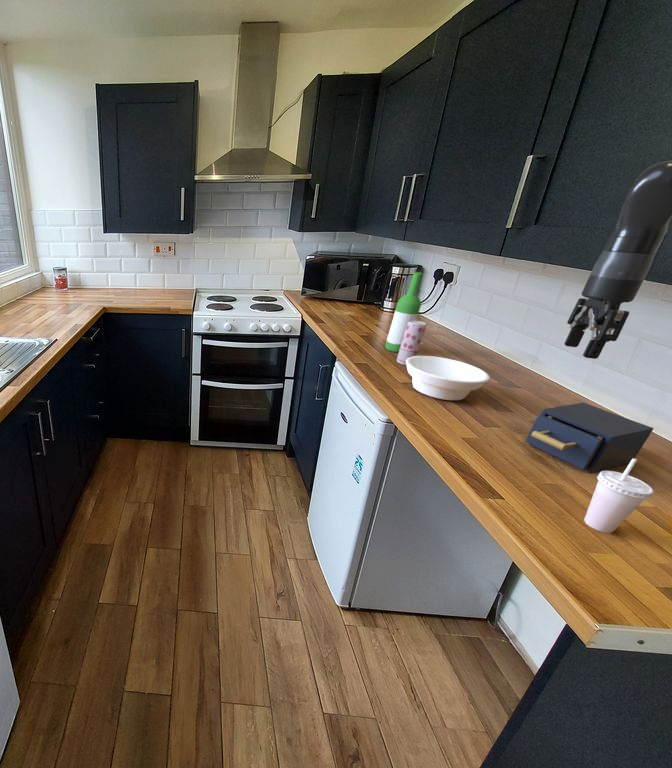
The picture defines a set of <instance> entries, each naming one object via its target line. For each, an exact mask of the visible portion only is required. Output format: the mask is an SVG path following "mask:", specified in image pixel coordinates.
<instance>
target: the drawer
mask: <svg viewBox="0 0 672 768" xmlns="http://www.w3.org/2000/svg"><path fill="white" fill-rule="evenodd" d="M532 424H533V425H532V427H531V428H530V431H529V433H528V435H527V437H526V439H525V441H524V442H525V443H527V444H528V445H531V446H533V447H536V448H537V449H540V450H542V451H543V452H546V453H548V454H550V455H552V456H554V457H556V458H558V459H560V460H562V461H565V462H566V463H568V464H570V465H572V466H574V467H577V468H578V469H580V470H584V469H587V467H588V465H589V464H591V463H592V461H593V459H594V457H595V456H596V454H597V452H598V451H599V449H600V447H601V445H602V444H603V442H604V440H605V439H606V438H603V437H601V436H599V435H596V434H594V433H591V432H589V431H586V430H584V429H582V428H579V427H577V426H574V425H572V424H569V423H567V422H564V421H562V420H560V419H557V418H555V417H552V416H548V417H546V416H544V415H542V414H541V413H540V414H537V416H536V418H535V421H534V423H532Z"/></svg>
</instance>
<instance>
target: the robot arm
mask: <svg viewBox="0 0 672 768" xmlns="http://www.w3.org/2000/svg"><path fill="white" fill-rule="evenodd" d="M671 218H672V160H666V161H661V162H658V163H654V164H652V165H651V166H649V167H647V168H646V169H644V170H643V171H641V172H640V173H639V174H638V175H637V176H636V177H635V179H634V180H633V182H632V183H631V185H630V187H629V190H628V192H627V194H626V197H625V200H624V202H623V206H622V209H621V211H620V214H619V217H618V220H617V222H616V224H615V226H614V228H613V229H612V231H611V232H610V235H609V237H608V239H607V241H606V244H605V246H604V247H603V250H602V251H601V253H600V255H599V257H598V258H597V259H596V261H595V263H594V265H593V268H592V269H591V272H590V274H589V276H588V278H587V280H586V282H585V285H584V287H583V289H582V291H581V297H583V298H581V297H579V298H578V299H577V302H576V304H575V306H574V307H573V309H572V311H571V314H570V316H569V317H568V320H567V322H566V324H567V325H569V329H570V331H569V333H568V334H567V337H566V339H565V341H564V343H563V344H564V346H566V347H569V348H577V347H579V345H580V343H581V341H582V339H583V337H584V335H585V333H586V330H587V329H589V331H591V336H590V337H591V338H590V340H589V341H588V343H587V345H586V347H585V350H584V351H583V353H582V357H584V358H586V359H594V360H596V359H598V358H599V357H600V355H601V353H602V351H603V349H604V347H605V345H606V343H609V342H616V341H617V340H618V338H619V336H620V334H621V332H622V330H623V328H624V326H625V324H626V322H627V319H628V317H629V316H630V311H629V310H620V307H621V305H622V304H623V303H631V302H633V301H634V299H635V297H636V296H637V294H638V292H639V290H640V288H641V286H642V284H643V283H644V280H645V278H646V276H647V275H648V272H649V271H650V269H651V267H652V265H653V261H654V258H655V256H656V253H657V251H658V249H659V248H660V246H661V244H662V241H663V240H664V237H665V235H666V234H667V231H668V227H669V222H670V220H671Z"/></svg>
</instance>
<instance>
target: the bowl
mask: <svg viewBox="0 0 672 768" xmlns="http://www.w3.org/2000/svg"><path fill="white" fill-rule="evenodd" d="M405 366H406V369H407V373H408V374H409V375H410V376H411V378H412V379H411V380H412V387H413V389H415V390H416V391H417V392H419V393H421V394H423V395H426V396H428V397H431V398H435V399H439V400H445V401H462V400H464V399H465V398H467V396H468V395H469V394H470V393H471V391H476V390H478V389H480V388H481V387H482V386H484V385H485V384H486V383H487V382H488V381H490V377H491V376H490V375H489V373H487V371H485V370H483V369H482V368H479V367H477V366H474V365H472V364H470V363H467V362H463V361H460V360H455V359H451V358H447V357H440V356H433V355H417V356H413V357H409V358H407V360H406V365H405Z"/></svg>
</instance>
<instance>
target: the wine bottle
mask: <svg viewBox="0 0 672 768" xmlns="http://www.w3.org/2000/svg"><path fill="white" fill-rule="evenodd" d="M422 277H423V273H422V272H421V271H414V272H413V274H412V276H411V280H410V283H409V286H408V290H407V292H406V294H404V295H402V296H401V297H400V298H399V299H398V301H397V304H396V307H395V310H394V313H393V317H392V320H391V324H390V327H389V331H388V334H387V338H386V342H385V345H384V346H385V347H384V348H385V349H386V350H387V351H389V352H393V353H396V354H397V353H399V350H400V347H401V343H402V340H403V337H404V333H405V330H406V327H407V324H408V322H409V321H417V320H418V315H419V312H420V309H421V306H422V303H421V298H420V297H419V296H418V291H419V288H420V285H421V281H422Z"/></svg>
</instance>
